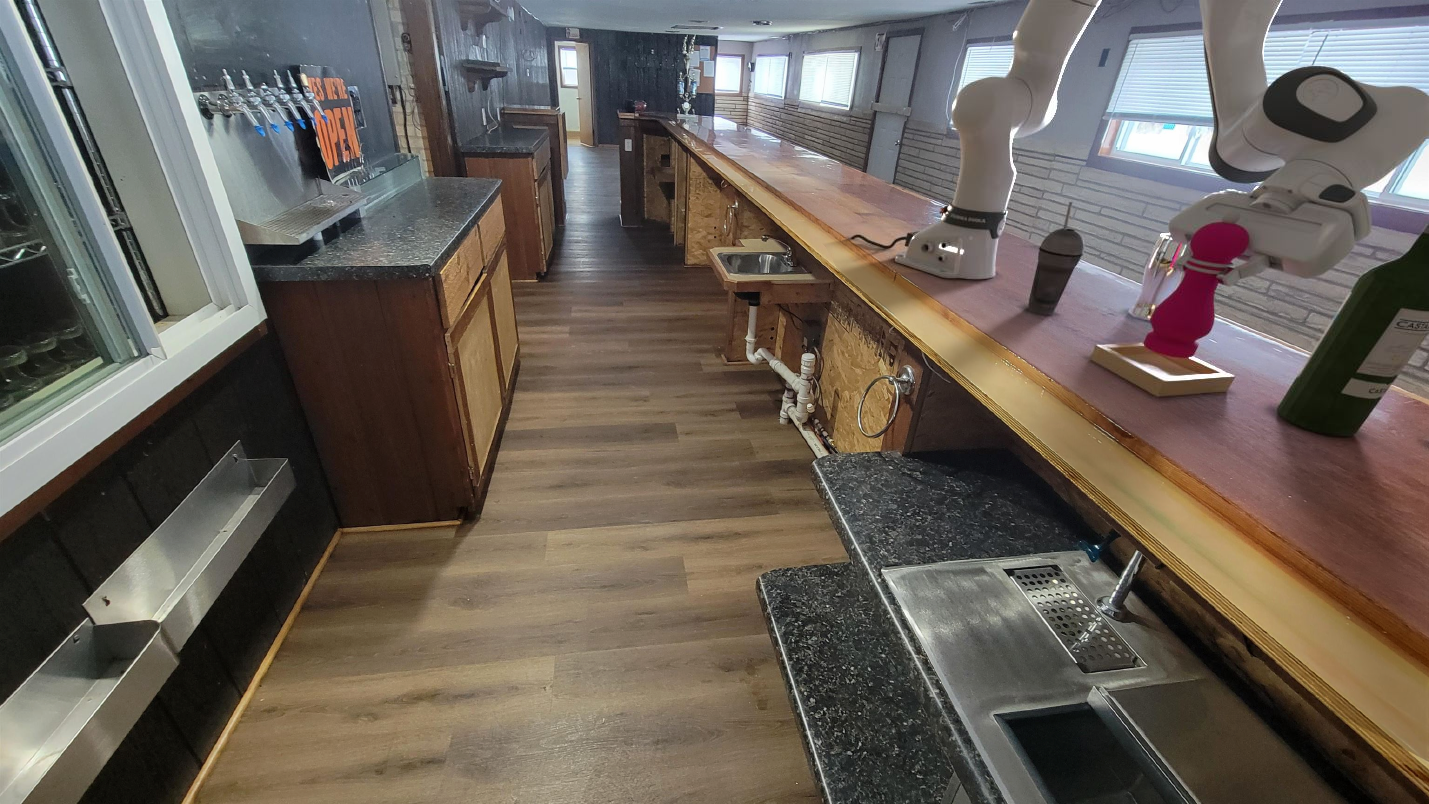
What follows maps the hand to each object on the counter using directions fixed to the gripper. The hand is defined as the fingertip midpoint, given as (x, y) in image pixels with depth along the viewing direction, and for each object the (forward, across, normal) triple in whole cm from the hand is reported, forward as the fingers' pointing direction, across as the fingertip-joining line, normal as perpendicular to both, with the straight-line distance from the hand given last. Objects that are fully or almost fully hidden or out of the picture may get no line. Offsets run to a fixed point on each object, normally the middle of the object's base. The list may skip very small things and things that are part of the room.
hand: (1200, 275), depth 78 cm
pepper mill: (+8, 0, +9) cm, 12 cm away
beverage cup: (+10, -27, +12) cm, 31 cm away
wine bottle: (+4, +15, +18) cm, 24 cm away
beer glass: (-4, -22, +27) cm, 35 cm away
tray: (+11, 0, +11) cm, 16 cm away
